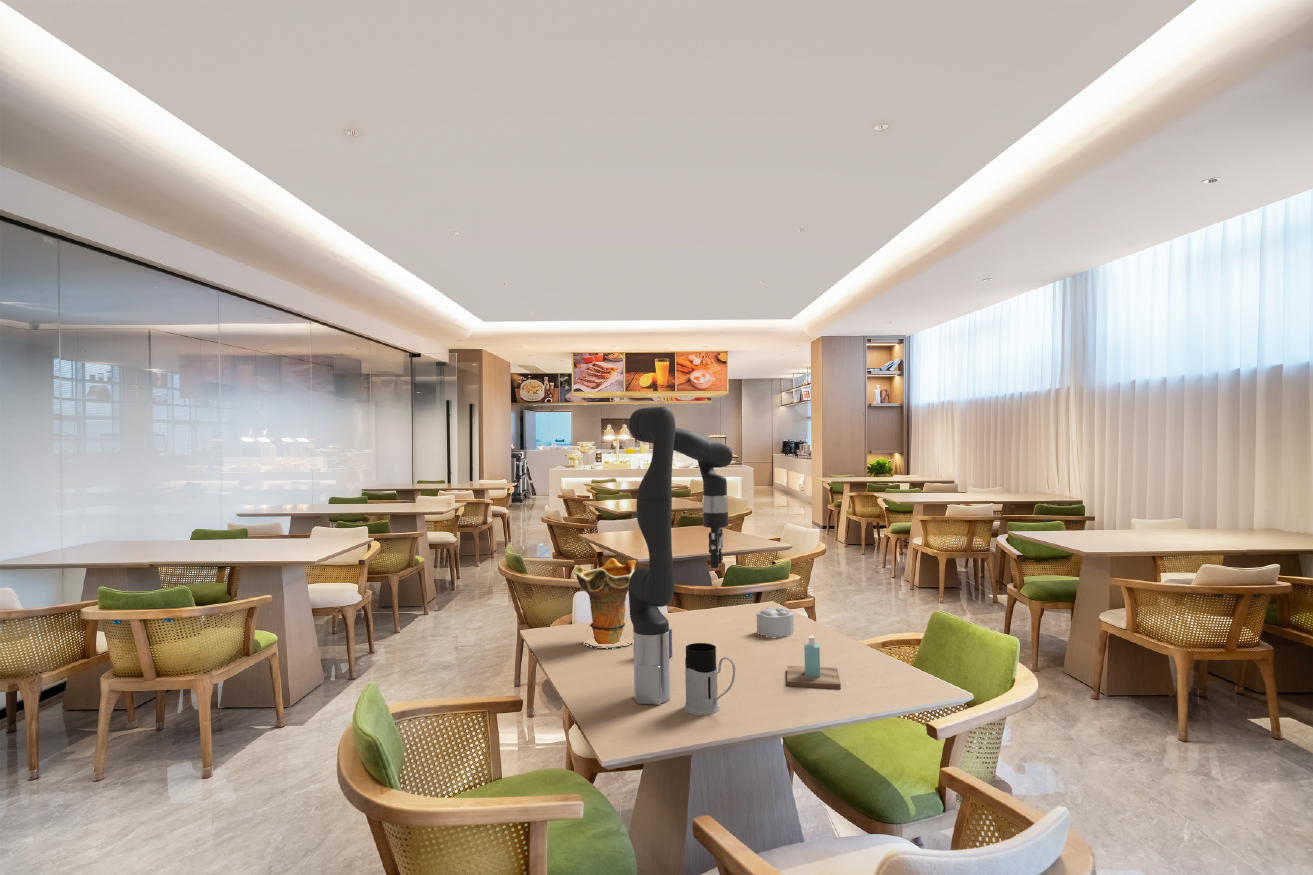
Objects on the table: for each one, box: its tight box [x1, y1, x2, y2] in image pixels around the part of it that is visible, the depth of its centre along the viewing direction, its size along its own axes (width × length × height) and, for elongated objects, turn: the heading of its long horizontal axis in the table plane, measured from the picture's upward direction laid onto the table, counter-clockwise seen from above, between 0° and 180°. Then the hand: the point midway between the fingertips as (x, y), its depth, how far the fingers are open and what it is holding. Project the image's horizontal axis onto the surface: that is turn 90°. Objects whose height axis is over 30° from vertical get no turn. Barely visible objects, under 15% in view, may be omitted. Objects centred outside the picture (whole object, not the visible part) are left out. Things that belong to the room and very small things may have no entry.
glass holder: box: [683, 642, 736, 716], centre depth 160 cm, size 9×14×15 cm, turn 51°
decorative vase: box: [573, 558, 637, 648], centre depth 224 cm, size 21×23×28 cm
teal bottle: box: [803, 635, 821, 677], centre depth 183 cm, size 4×4×10 cm
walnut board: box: [786, 665, 842, 690], centre depth 182 cm, size 14×14×1 cm
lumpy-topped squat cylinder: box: [756, 606, 795, 638], centre depth 232 cm, size 10×13×9 cm
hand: (716, 565), depth 195 cm, fingers open, 8 cm apart
